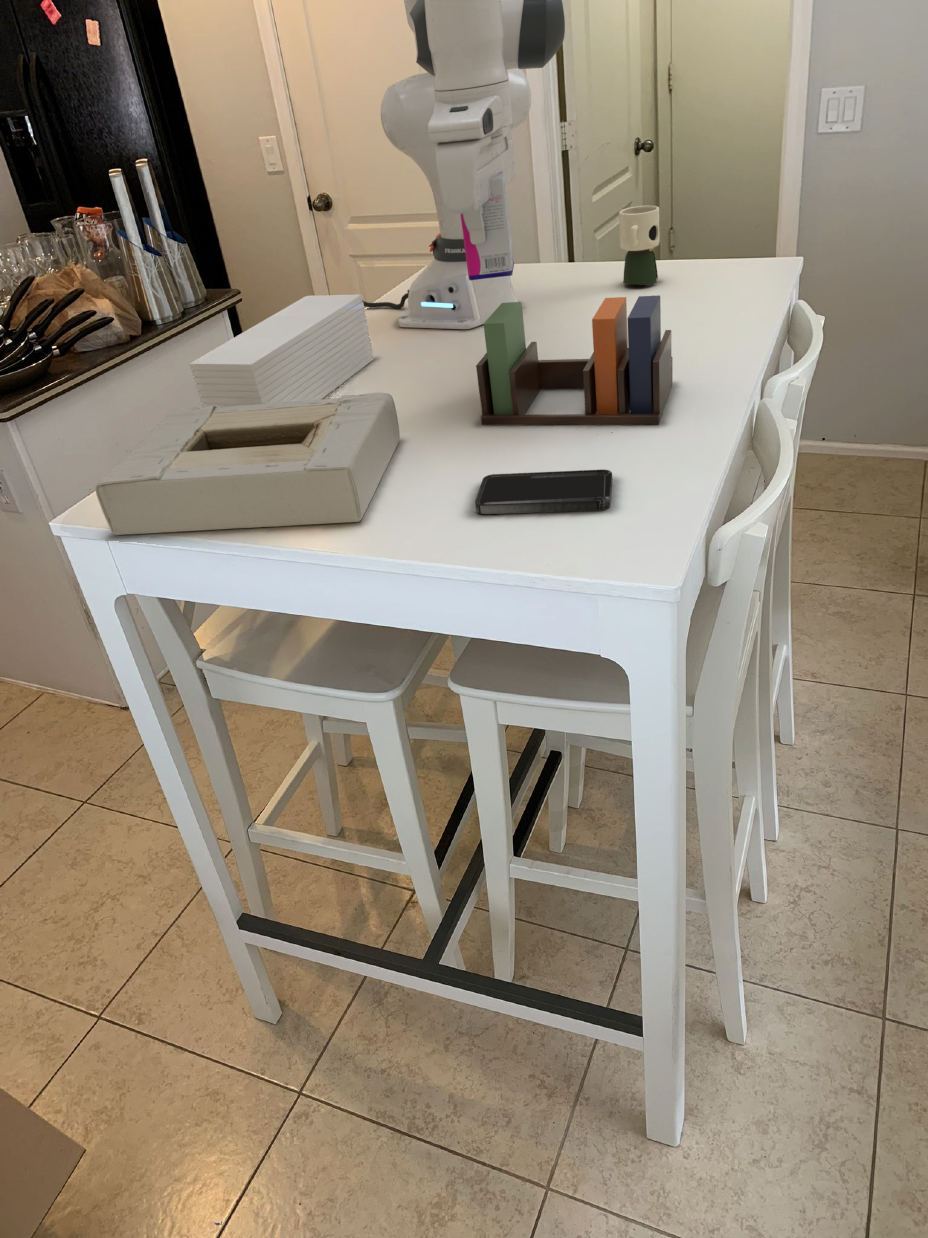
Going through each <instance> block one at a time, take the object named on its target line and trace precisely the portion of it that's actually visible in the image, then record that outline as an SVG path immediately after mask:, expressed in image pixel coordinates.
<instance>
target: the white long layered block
mask: <svg viewBox="0 0 928 1238" xmlns="http://www.w3.org/2000/svg"><path fill="white" fill-rule="evenodd" d="M362 300H363V301H364V299H363V295H362V294H361V293H360V294H323V295H316V294H315V295H305V296H303V297H302V298H300V299H298V300H297V301H294V302H293V303H291V304H289V305H288V306H286V307H284V308H283V309H281V310H279V311H278V312H276V313H274V314H272V315H271V316H268V317H267V318H265V319H263V320H262V321H260V322H258V323H256V324H255V325H253V326H252V327H250V328H248V329H246V330H244V331H243V332H241V333H240V334H238V335H236V336H235V337H233V338H231V339H228V341H225V342H224V343H222V344H220V345H219V346H217V347H216V348H213V349H211V350H210V351H209V352H207V353H204V354H203V355H202V356H200V357H198V358H196V359H194V360H193V361H191V362H190V363H189V364H188V365H189V368H190V370H191V375H192V377H193V381H194V384H195V387H196V390H197V394H198V396H199V401H200V403H201V407H206V406H216V407H231V406H244V405H256V404H269V403H282V402H294V401H307V400H320V399H324V398H325V397H326V396H328V395H329V394H330V393H332V392H333V391H334V390H335V389H337V388H338V387H339V386H341V385H342V384H343V383H345V382H346V381H348V380H349V379H351V377H352V376H354V375H355V374H357V373H358V372H359V371H360V370H362V369H363V368H365V367H366V366H367V365H368V364H369V363H371V362H372V361H374V360H375V356H374V354H373V353H374V351H373V348H372V342H371V337H370V331H369V324H368V320H367V315H366V314H367V313H366V308H365V306H364V303H363V301H362Z"/></svg>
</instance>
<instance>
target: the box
mask: <svg viewBox="0 0 928 1238" xmlns="http://www.w3.org/2000/svg"><path fill="white" fill-rule="evenodd" d="M397 412H398V411H397V407H396V403H395V400H394V397H393V396H392V394H390V393H388V392H370V393H362V394H343V395H341V397H333V398H322V399H320V400H307V401H294V402H282V403H269V404H256V405H244V406H231V407H216V406H206V407H202V406H189V407H180V408H179V407H178V408H174V409H170V411H168V413H167V414H166V415H165V417H164V418H163V419H162V420H161V421H160V422H159V423H158V424H157V425H156V426H155V427H154V428H153V429H152V430H151V431H149V433H148V434H147V435H146V436H145V437H143V439H142V440H141V441H140V442H139V443H137V445H136V446H135V447H134V448H133V449H132V450H130V452H129V453H127V455H126V456H124V458H123V459H121V461H119V462H118V463H117V464H116V465H115V466H114V467H113V469H111V470H110V471H109V472H108V473H107V474H106V475H105V476H103V477H102V478H101V479H99V481H98V482H97V483H96V485H95V494H96V497H97V500H98V504H99V506H100V508H101V511H102V514H103V516H104V519H105V520H106V523H107V524H108V527H109V529H110V531H111V533H113V534H114V535H116V536H120V535H139V534H141V535H142V534H159V533H160V534H161V533H178V532H193V531H215V530H231V529H251V528H265V527H266V528H267V527H268V528H269V527H272V528H273V527H289V526H307V525H323V524H342V523H358V522H361V521H362V520H363V517H364V515H365V513H366V511H367V509H368V507H369V505H370V503H371V501H372V498H373V497H374V495H375V493H376V490H377V488H378V486H379V484H380V482H381V480H382V478H383V476H384V474H385V472H386V470H387V468H388V466H389V464H390V462H391V459H392V457H393V455H394V454H395V451H396V449H397V447H398V445H399V443H400V437H401V435H400V433H401V431H400V424H399V419H398V413H397Z"/></svg>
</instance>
